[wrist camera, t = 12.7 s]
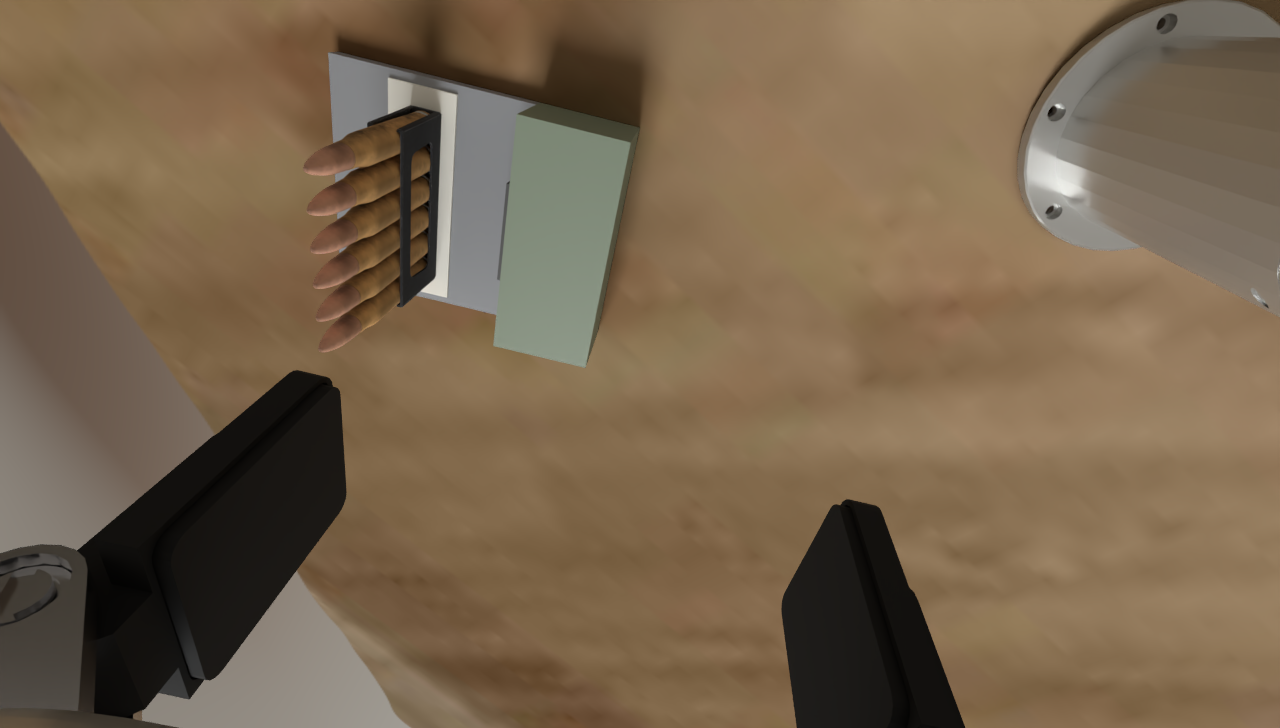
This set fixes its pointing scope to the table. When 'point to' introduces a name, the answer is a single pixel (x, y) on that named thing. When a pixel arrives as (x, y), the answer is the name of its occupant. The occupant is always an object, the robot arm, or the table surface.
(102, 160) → the table surface
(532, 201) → the plate with green block
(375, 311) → the ammunition clip
